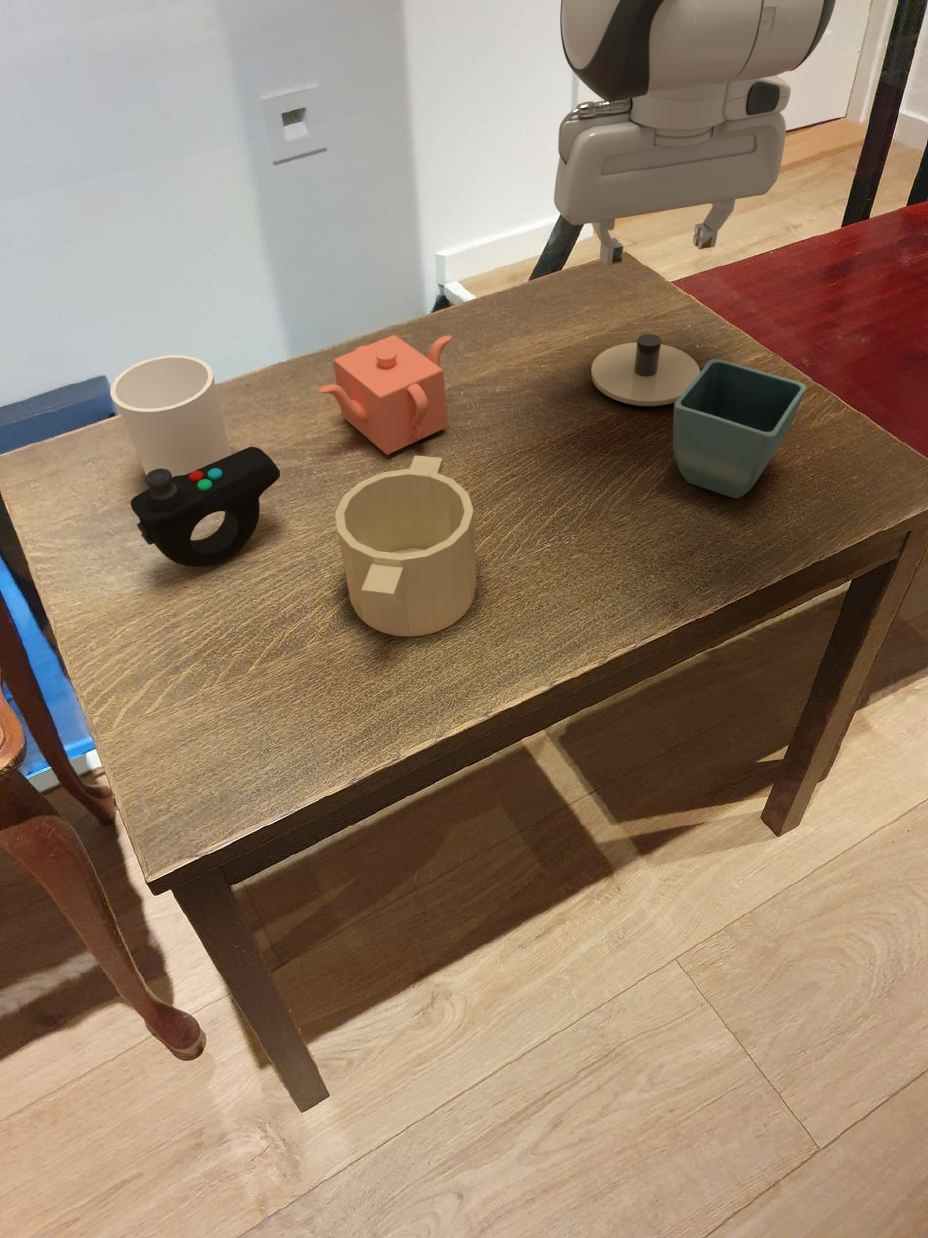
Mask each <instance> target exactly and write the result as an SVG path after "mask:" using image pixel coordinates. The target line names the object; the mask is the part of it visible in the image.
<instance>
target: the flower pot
mask: <svg viewBox="0 0 928 1238" xmlns="http://www.w3.org/2000/svg"><path fill="white" fill-rule="evenodd" d="M806 391H807V385H806V384H805V383H804V382H800V381H798V380H794V379H791V378H786V377H784V376H779V375H775V374H772V373H769V372H765V371H762V370H759V369H755V368H751V367H748V366H745V365H741V364H738V363H734V362H731V361H728V360H724V359H720V358H712V359H709V360H708V362H706V364H705V365H704V367H703V368H702V369H701V370H700V373H699V375H698V376H697V377H696V378H695V380H694V381H693V382H692V383H691V384H690V385H689V387H688V388H687V389H686V390H685V391H684V393H683V394H682V395H681V396H680V397H679V399H678V400H677V401H676V402H674V403H673V404H674V405H673V424H672V425H673V426H672V450H673V451H672V452H673V457H674V460H675V461H674V462H675V464H676V467H677V468H678V470H679V472H680V473H681V475H682V477H683V478H684V479H685V481H686V483H688V484H691V485H694V486H697V487H700V488H701V489H705V490H708V491H711V492H713V493H716V494H720V495H722V496H725V497H728V498H731V499H734V500H735V499H736V500H739V499H740V498H741V497H743V496H744V495H746V494H747V493H748V492H749V491H750V490H751V489H752V488H753V487H754V486H755V484H756V483H757V481H758V480H759V478H760V477H761V476H762V473H763V472H764V470H765V469H766V467H767V466H768V464H769V462H770V461H771V459H772V458H773V456H774V455H775V453H776V452H777V450H778V449H779V447H780V446H781V444H782V443H783V441H784V439H785V437H786V436H787V434H788V432H789V430H790V428H791V426H792V423H793V421H794V419H795V416H796V414H797V412H798V410H799V407H800V405H801V402H802V400H803V399H804V395H805V392H806Z"/></svg>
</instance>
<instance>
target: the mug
mask: <svg viewBox="0 0 928 1238" xmlns="http://www.w3.org/2000/svg"><path fill="white" fill-rule="evenodd" d="M110 397H111V399H112V401H113V403H114V405H115V408H116V409H117V411H118V413H119V415H120V418H121V420H122V421H123V423H124V425H125V429H126V431H127V433H128V435H129V437H130V441H131V442H132V444H133V446H134V450H135V452H136V454H137V457H138V459H139V461H140V464H141V467H142V469H143V471H144V474H145V476H146V475H147V474H148V473H149V472H151V471H152V470H155V469H166V470H169V471H170V472H171V474H172V478H173V477H175V476H179V475H186V474H188V473H191V472H193V471H195V470H198V469H200V468H202V467H205V466H207V465H209V464H212V463H214V462H216V461H218V460H221V459H223V458H225V457H228V456H230V455H232V454H233V453H232V451H231V447H230V443H229V438H228V435H227V431H226V428H225V423H224V418H223V415H222V411H221V407H220V404H219V399H218V394H217V387H216V383H215V377H214V372H213V369H212V368H211V366H210V365H209V364H208V363H207V362H206V361H204V360H203V359H200V358H197V357H194V356H190V355H181V354H175V355H174V354H172V355H171V354H170V355H163V356H162V355H161V356H156V357H152V358H149V359H146V360H140V361H137V362H135V363H134V364H132V365H131V366H129V367H127V368H126V369H125V370H123V371H121V372H120V374H118V375H117V376H116V378H115V379H114V380H113V382H112V384H111V386H110Z"/></svg>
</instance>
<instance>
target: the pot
mask: <svg viewBox="0 0 928 1238" xmlns="http://www.w3.org/2000/svg"><path fill="white" fill-rule="evenodd" d="M443 460H444V459H443V458H442V457H437V456H427V455H414V456H413V458H412V461H411V464H410V466H409V468H403V469H397V470H389V471H383V472H380V473H378V474H376V475H373V476H371V477H369V478H366V479H363V480H362V481H360V482H358V483H357V484H356V485H354V487H352V488H351V489H350V490H348V491H347V492H346V493H345V494H344V495H343V496H342V498H341V499H340V502H339V504H338V506H337V508H336V510H335V512H334V517H335V518H334V519H335V524H336V525H335V526H336V531H337V532H336V533H337V537H338V542H339V547H340V553H341V557H342V558H341V559H342V564H343V568H344V574H345V579H346V584H347V590H348V594H349V600H350V604H351V606H352V608H353V610H354V612H355V614H356V615H357V617H358V618H359V619H360V620H361V621H362V622H363V623H364V624H366V625H367V626H368V627H370V628H372V629H373V630H376V631H378V632H380V633H382V634H387V635H390V636H396V637H405V638H406V637H421V636H426V635H431V634H434V633H437V632H440V631H443V630H445V629H447V628H449V627H450V626H452V625H453V624H455V623H456V622H458V621H459V620H460V619H461V618H462V617H463V616H464V615H466V613H467V612H468V611H469V610H470V607H471V606H472V604H473V602H474V600H475V596H476V586H477V559H476V535H475V533H476V532H475V511H474V507H473V503H472V500H471V497H470V494H469V493H468V492H467V490H465V489H464V488H463V487H462V486H461V485H460V484H459V483H458V482H457V481H456V480H455V479H453V478H450V477H448V476H445V475H443V474H442V472H443V469H444V461H443Z"/></svg>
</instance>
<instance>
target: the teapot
mask: <svg viewBox="0 0 928 1238" xmlns="http://www.w3.org/2000/svg"><path fill="white" fill-rule="evenodd" d="M452 338H453V337H452V335H451V334H447V335H443V336H441V337H439V338H437V339H436V340H435V341H434V342H433V343H432V344H431V347H430V349H429V350H428V352H427V356H425V355H424V354H422V353H421V352H420V351H418V350H417V349H415V348H414V347H413V346H411V345H410V344H408V343H407V342H405V341H404V340H403V339H401V338H400V337H399V336H397V335H395V334H392V335H391V336H388V337H386V338H383V339H380V340H377V341H375V342H373V343H371V344H368V345H360V346H357V347H356V348H355V349H354V350H353V351H351V352H348V353H346V354H344V355H341V356H338V357H336V358H333V360H332V365H333V370H334V375H335V376H334V377H335V381H336V383H335V384H334V383H331V384H330V383H329V384H326V385H323V386H321V387H320V388H318V389H317V391H318V392H319V393H323V394H330V395H332V396H333V397H334V399H335V400H336V401H337V403H338V405H339V407H340V412H341V417H342V418H344V419H345V420H346V421H347V422H348V423H349V424H351V425H352V426H353V427H354V428H355V429H356V430H357V431H359V433H361V434H362V435H363V436H364V437H366V438H367V439H368V440H369V441H370V442H371V443H372V444H374V445H375V446H376V447H377V448H378V449H379V450H381V452H383V453H384V454H385V455H386V456H388V455H390V454H392V453H394V452H397V451H399V450H402V449H403V448H406V447H408V446H409V445H412V444H414V443H415V442H418V441H420V440H422V439H425V438H427V437H428V436H431V435H434V434H435V433H437V432H440V431H442V430H443V429H445V428H448V422H447V421H448V419H447V406H446V405H447V404H446V387H445V372H444V370H443V369H442V368H441V367H440V362H441V355H442V353H443V350H444V349H445V346H446V345H447V344H448V343H449V342H450V341H451V340H452Z"/></svg>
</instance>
